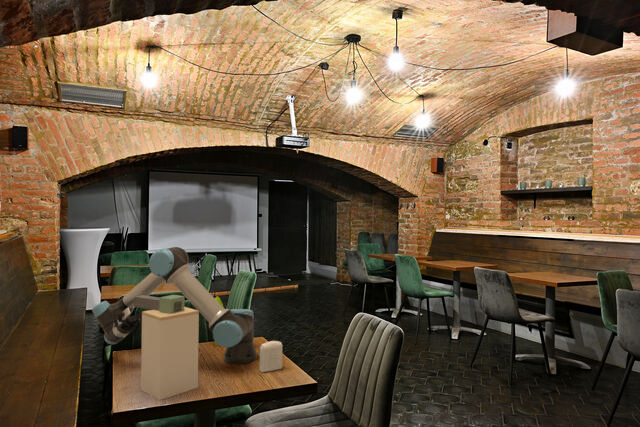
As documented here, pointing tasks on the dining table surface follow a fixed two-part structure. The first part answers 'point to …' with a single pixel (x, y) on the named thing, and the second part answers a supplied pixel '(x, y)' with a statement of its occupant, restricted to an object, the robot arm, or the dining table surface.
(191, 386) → the pedestal
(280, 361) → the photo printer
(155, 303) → the bar
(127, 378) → the dining table surface
